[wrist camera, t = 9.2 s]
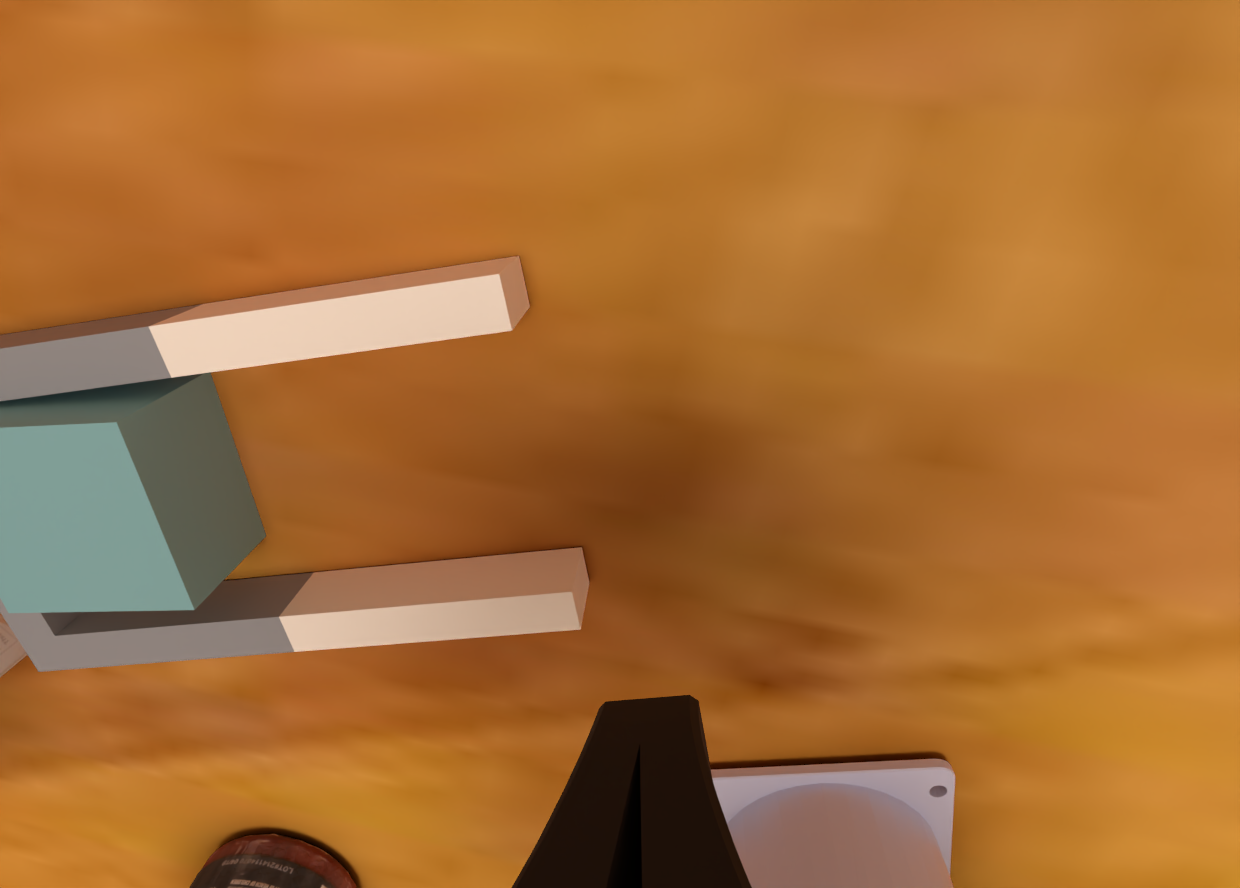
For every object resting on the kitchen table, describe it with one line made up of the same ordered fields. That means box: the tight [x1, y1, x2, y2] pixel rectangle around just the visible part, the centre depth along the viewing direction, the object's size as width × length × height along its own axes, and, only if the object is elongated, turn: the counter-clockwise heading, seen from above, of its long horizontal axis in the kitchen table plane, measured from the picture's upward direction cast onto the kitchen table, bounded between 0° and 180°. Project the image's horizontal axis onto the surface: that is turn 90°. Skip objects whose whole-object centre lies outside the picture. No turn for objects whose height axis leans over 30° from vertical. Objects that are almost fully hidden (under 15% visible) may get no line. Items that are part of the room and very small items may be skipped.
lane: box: [0, 256, 589, 672], centre depth 18 cm, size 9×16×2 cm, turn 99°
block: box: [0, 372, 266, 613], centre depth 18 cm, size 5×5×4 cm
